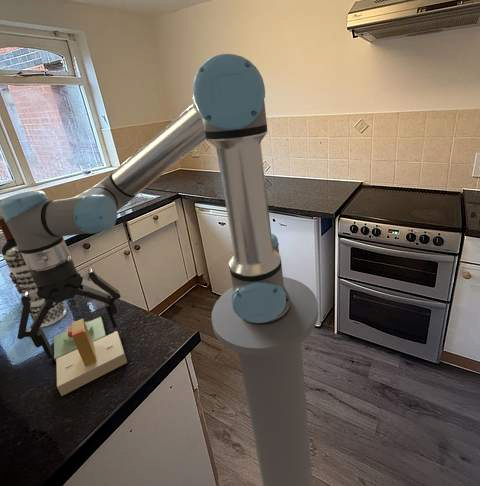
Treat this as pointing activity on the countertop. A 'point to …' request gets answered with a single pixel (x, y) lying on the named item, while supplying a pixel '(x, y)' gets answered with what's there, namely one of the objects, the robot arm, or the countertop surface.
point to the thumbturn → (83, 342)
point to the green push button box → (67, 344)
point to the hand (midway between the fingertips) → (84, 338)
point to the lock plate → (78, 374)
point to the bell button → (70, 331)
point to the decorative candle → (30, 287)
